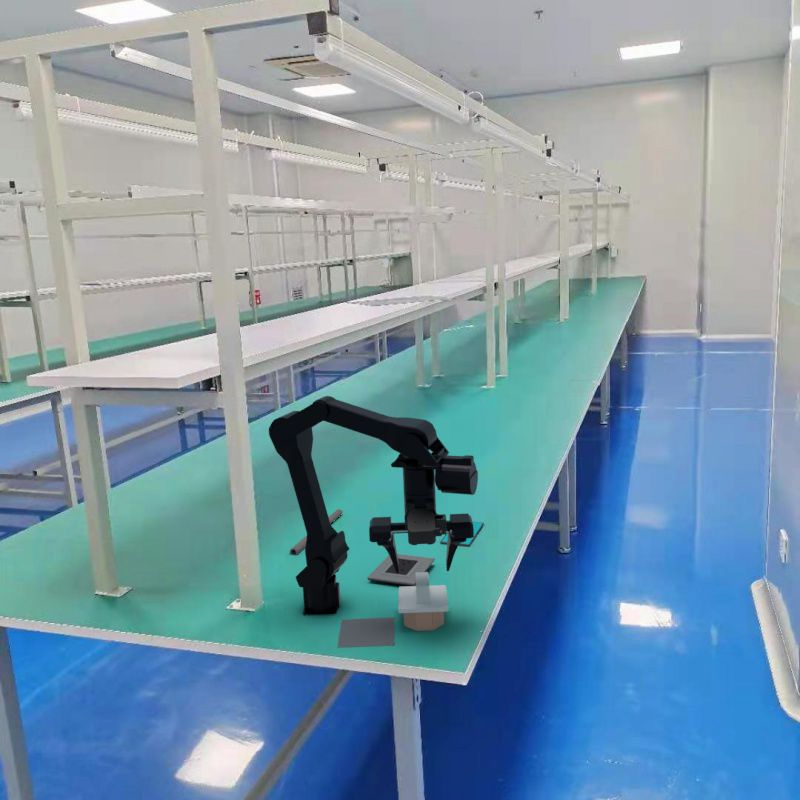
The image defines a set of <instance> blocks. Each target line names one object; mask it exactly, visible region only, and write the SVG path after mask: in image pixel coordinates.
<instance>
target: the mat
mask: <svg viewBox="0 0 800 800" xmlns="http://www.w3.org/2000/svg"><path fill="white" fill-rule="evenodd" d="M395 620H396V618H395V617H375V618H372V617H370V618H350V619H349V618H347V619H346V618H343V619H341V621H340V629H339V636H338V641H337V647H336V648H338V649H339V648H361V647H362V648H364V647H367V648H368V647H369V648H370V647H387V646H388V647H389V646H391V647H393V646H395Z"/></svg>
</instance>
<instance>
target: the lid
mask: <svg viewBox="0 0 800 800" xmlns="http://www.w3.org/2000/svg"><path fill="white" fill-rule="evenodd" d="M429 576H430V575H429V571H425V572H416V584H415V585H414V586H406V585H404V586H399V587H398V614H403V613H418V612H444V613H445V612H449V603H448V602H449V599H448V592H447V585H446V584H441V585H440V584H439V585H438V584H437V585H430V579H429Z"/></svg>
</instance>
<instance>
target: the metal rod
mask: <svg viewBox="0 0 800 800" xmlns="http://www.w3.org/2000/svg"><path fill="white" fill-rule="evenodd" d="M343 512H344V511H343V510H342V509H340V508H339V509H336V510H335V511H333V512H332V514H331V515H328V517H329V521H330V524H331V523H332V522H334V520H336V519H337V518H338V517H339V516H340V515H341V514H342V513H343ZM343 514H344V513H343ZM343 514H342V515H343ZM342 515H341V516H342ZM341 516H340V517H341ZM340 517H339V518H340ZM339 518H338V519H339ZM338 519H337V520H338ZM337 520H336V521H337ZM334 523H335V522H334ZM332 524H333V523H332ZM332 524H331V525H332ZM306 539H307V535H306V536H305V537H303V538H302V539H301V540H300V541H299V542H297V543H296V544H295V545H294V546H293V547H291V548H290V550H289V554H290V555H291V556H293V555H294V556H297V555H299V554H300V553H301V552H302V551H304V550H305V547H306Z"/></svg>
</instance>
